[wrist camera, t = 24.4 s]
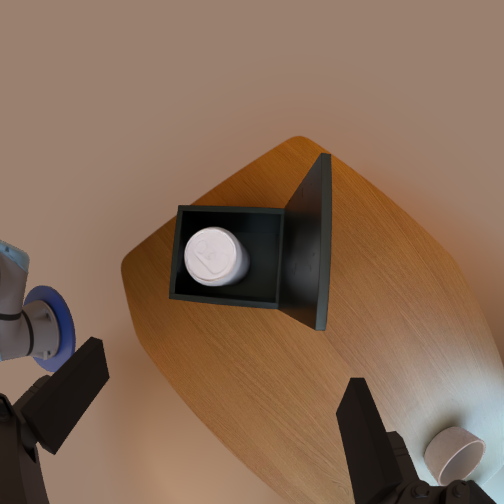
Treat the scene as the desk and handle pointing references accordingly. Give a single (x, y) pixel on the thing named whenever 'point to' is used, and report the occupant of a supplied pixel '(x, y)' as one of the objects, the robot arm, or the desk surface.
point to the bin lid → (308, 248)
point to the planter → (453, 455)
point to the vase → (478, 494)
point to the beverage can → (216, 257)
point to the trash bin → (253, 239)
